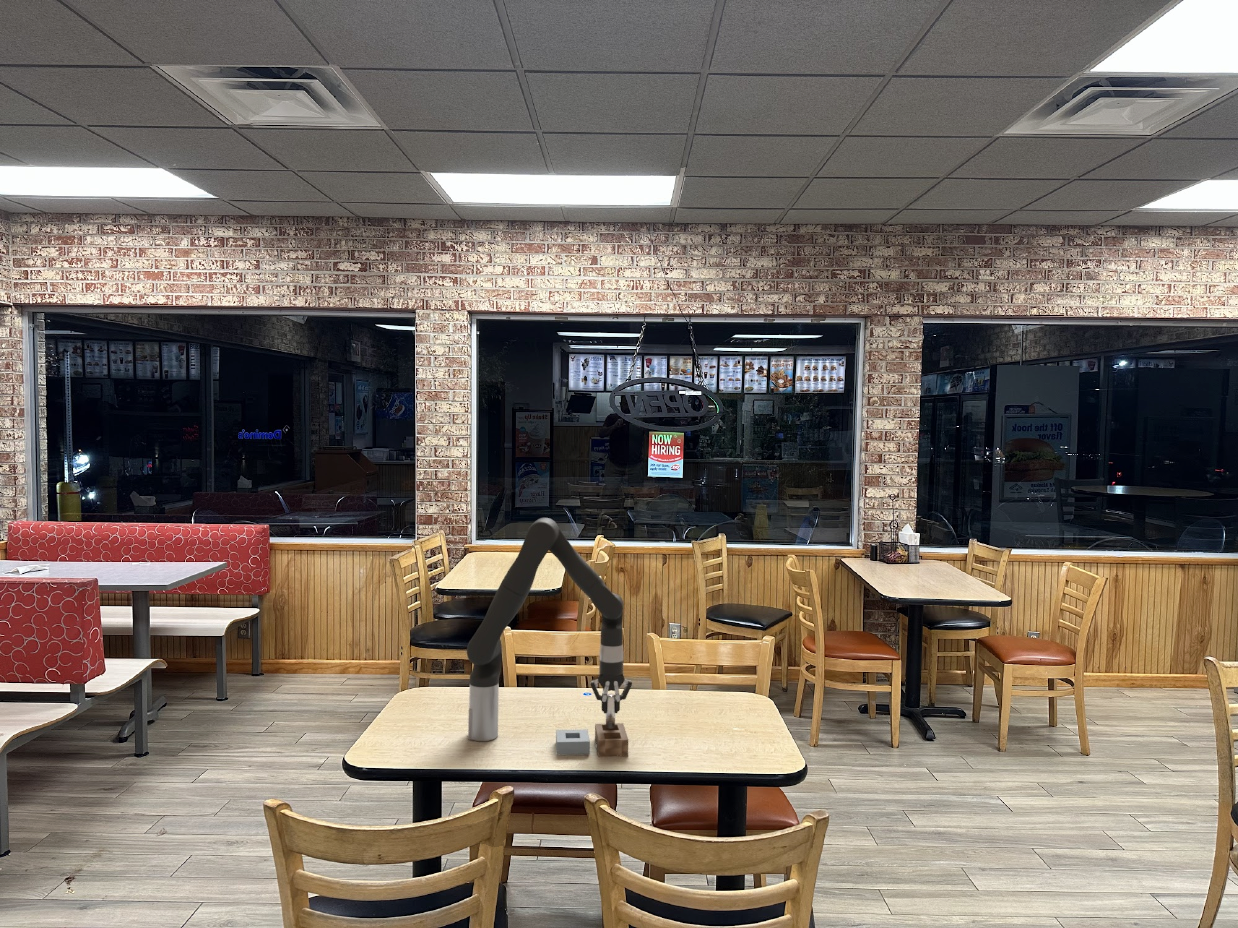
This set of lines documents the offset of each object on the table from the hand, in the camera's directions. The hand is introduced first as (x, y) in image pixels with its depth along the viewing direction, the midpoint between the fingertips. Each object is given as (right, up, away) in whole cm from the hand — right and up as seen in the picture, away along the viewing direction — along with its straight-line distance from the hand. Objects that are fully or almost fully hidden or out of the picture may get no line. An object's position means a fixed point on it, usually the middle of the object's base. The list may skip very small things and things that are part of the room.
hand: (610, 712), depth 248 cm
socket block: (-12, -10, -4) cm, 16 cm away
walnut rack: (0, -10, -3) cm, 10 cm away
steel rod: (0, -5, 0) cm, 5 cm away
